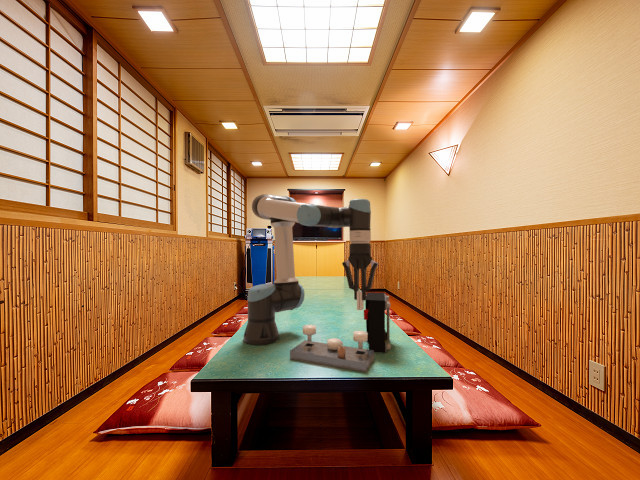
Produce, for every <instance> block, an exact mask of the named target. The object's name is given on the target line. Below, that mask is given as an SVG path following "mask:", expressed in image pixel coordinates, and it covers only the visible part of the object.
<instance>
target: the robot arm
mask: <svg viewBox="0 0 640 480" xmlns="http://www.w3.org/2000/svg"><path fill="white" fill-rule="evenodd" d="M251 210H252V213H253V214H254V215H255V217H257V218H259V219H263V220H267V221H268V220H269V221H270V226H271V227H272V228H273V233H274V235H273V236H274V248H275V250H274V252H275V267H276V268H275V269H276V279H275V280H274V281H273V283H262V284H258V285H253V286H252V287H250V288H249V289H248V292H247V300H246V301H247V324H246V325H245V327H246V328H245V330H244V333H243V342H244V343H245V344H248V345H254V346H259V345H268V344H269V345H270V344H273V343H275V342H277V341H279V340H280V332H279V330H278V326H277V322H276V313H281V312H285V311H292V310H295V309H298V308H300V307H301V306H302V305H303V303H304V302H305V301H304V300H305V290H304V288H303V285H301V284H300V282H299V279H298V278H297V277H296V272H295V271H296V270H295V255H294V254H295V252H294V237H293V235H294V234H293V227H294V225H295V224H296V223H298V224H300V225H302V226H306V227H324V228H331V229H338V228H349V229H348V230H349V242H350V243H349V256H348V259H346V260H345V261H342V263H341V265H342V266H343V268H344V271H345V275H346V280H347V284H348V289H350V290H353V293H354V294H353V297H354V300H355V301H356V310H357V311H364V310H365V309H364V306H365V305H364V304H365V300H366V295H367V291H369V290H371V289H372V288H373V282H374V278H375V274H376V270H377V268H378V266H379V262H376V261H375V260H373V257H372V245H371V242H372V237H371V235H372V233H371V230H372V229H371V217H372V216H371V215H372V211H371V201H370V200H369V199H366V198H355V199H351V200H349V203H348V206H343V207H336V206H328V205H320V204H314V203H304V202H297V201H296V200H295V198H293V197H288V196H287V195H276V194H270V193H269V194H268V193H265V194H259V195H257V196H255V198H254V199H253V200H252V202H251ZM350 266H352V268H353V275H352V270H351V267H350ZM369 266H370V271H369V276H368V280H367V270H368V269H367V268H368V267H369ZM360 273H361V275H360ZM360 276H361V280H360ZM360 281H361V289H360Z"/></svg>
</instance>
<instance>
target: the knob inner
mask: <svg viewBox="0 0 640 480" xmlns="http://www.w3.org/2000/svg"><path fill="white" fill-rule="evenodd" d="M302 334H303V335H305V336H306V337H307V338H306V339H307V340H306V341H308V342H311V341H312V336H314V335H316V334H317V326H316V325H314V324H304V325H303V326H302Z"/></svg>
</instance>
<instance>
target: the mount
mask: <svg viewBox="0 0 640 480" xmlns="http://www.w3.org/2000/svg"><path fill="white" fill-rule="evenodd" d="M343 347H345V358H339V357H338V349H337V350H331V349H328V348H327V342H326V343H325V342H320V341H318V342H317V341H311V342H308V341H307V340H303V341H302V342H300V343H299V344H297V345H296V346H294V347H293V348H291V349H290V350H289V359H290V360H295V361H299V362H300V361H301V362H306V363H311V364H317V365H323V366H329V367H334V368H339V369H345V370H352V371H356V372H362V373H367V372H368V370H369V368H370V366H371V365H372V363H373V362H374V360H375V352H374V350H369V348H368V349H366V348H363V349H358V347H353V346H346V345H343Z"/></svg>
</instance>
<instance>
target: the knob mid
mask: <svg viewBox="0 0 640 480" xmlns="http://www.w3.org/2000/svg"><path fill="white" fill-rule="evenodd" d="M326 341H327V342H326V343H327V348H328V349H331V350H337V349H338V347H340V342H341V339H339V338H338V337H337V338H336V337H334V338H333V337H331V338H328V339H326Z"/></svg>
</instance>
